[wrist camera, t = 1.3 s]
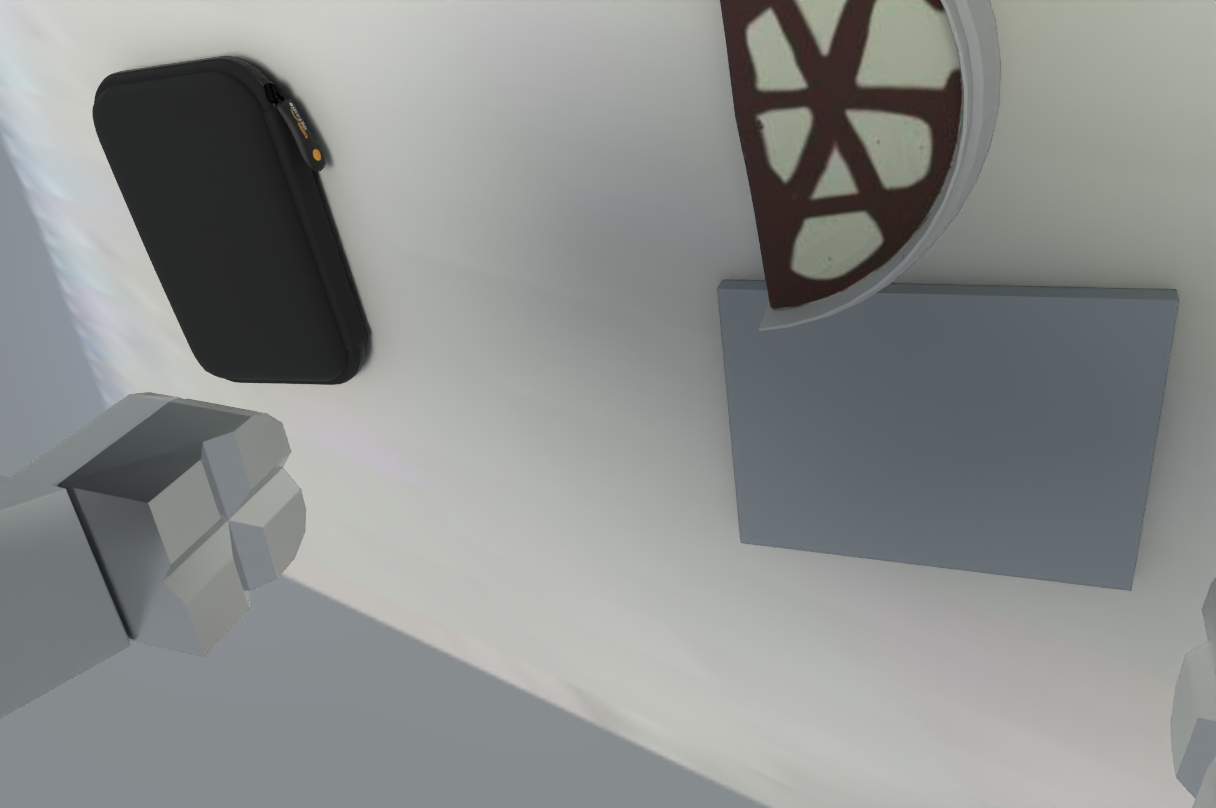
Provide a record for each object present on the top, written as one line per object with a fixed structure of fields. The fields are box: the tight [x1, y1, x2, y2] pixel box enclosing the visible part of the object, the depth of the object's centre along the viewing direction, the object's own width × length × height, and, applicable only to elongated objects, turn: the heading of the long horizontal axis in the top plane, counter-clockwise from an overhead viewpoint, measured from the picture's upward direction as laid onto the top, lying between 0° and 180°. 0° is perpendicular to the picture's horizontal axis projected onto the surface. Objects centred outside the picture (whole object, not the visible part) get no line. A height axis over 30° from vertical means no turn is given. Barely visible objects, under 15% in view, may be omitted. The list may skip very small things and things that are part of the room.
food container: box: [720, 0, 1001, 331], centre depth 26 cm, size 12×6×10 cm, turn 14°
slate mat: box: [717, 280, 1179, 591], centre depth 37 cm, size 15×12×1 cm
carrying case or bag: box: [93, 56, 368, 385], centre depth 43 cm, size 11×3×15 cm
